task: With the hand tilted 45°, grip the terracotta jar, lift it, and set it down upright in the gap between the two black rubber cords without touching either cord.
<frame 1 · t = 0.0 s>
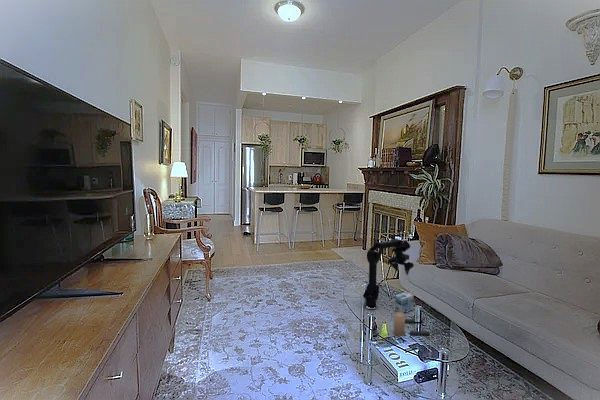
hand: (402, 272, 243), 15 cm above the table, tool pointing down, fingers open, 9 cm apart
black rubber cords: (416, 328, 198), on the table
light bulb box: (404, 310, 220), on the table
terracotta jar: (399, 333, 194), on the table
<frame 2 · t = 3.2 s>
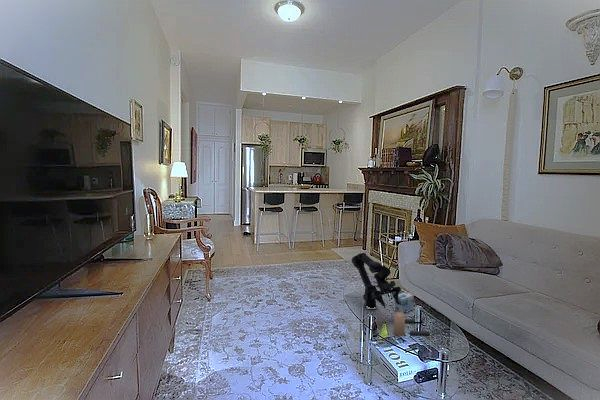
hand: (391, 305, 200), 14 cm above the table, tool tilted 45°, fingers open, 9 cm apart
nothing on the table moved.
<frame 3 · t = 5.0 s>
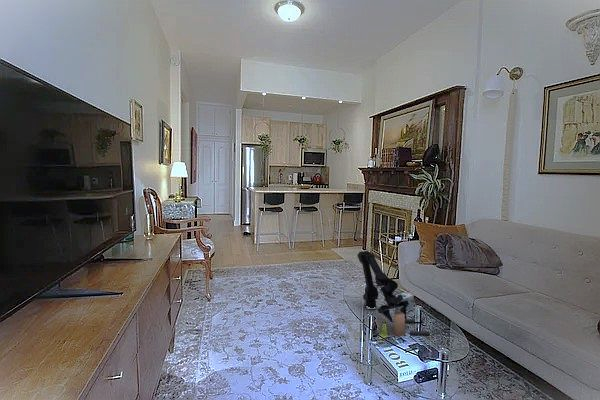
hand: (399, 320, 193), 8 cm above the table, tool tilted 45°, fingers open, 9 cm apart
nothing on the table moved.
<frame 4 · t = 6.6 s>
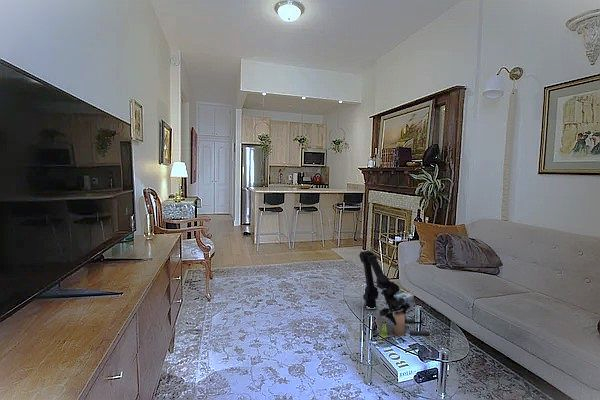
hand: (400, 324, 192), 7 cm above the table, tool tilted 45°, fingers closed on terracotta jar, 6 cm apart
terracotta jar: (399, 333, 194), on the table, touching gripper
everything else where it was.
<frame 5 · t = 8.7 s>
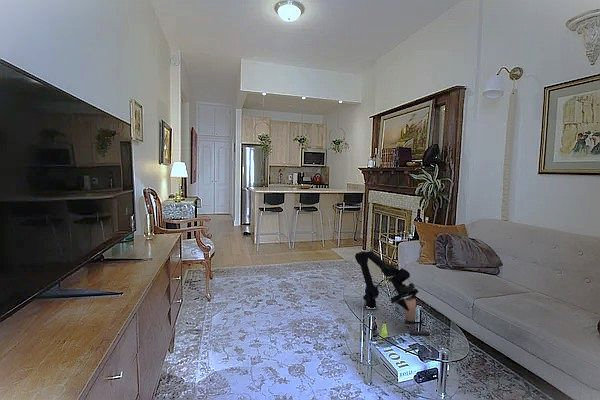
hand: (412, 309, 195), 13 cm above the table, tool tilted 45°, fingers closed on terracotta jar, 6 cm apart
terracotta jar: (410, 318, 197), point 7 cm above the table, touching gripper
everything else where it was.
when the fingers open (8 cm above the table, at t = 10.9 s): terracotta jar drops 1 cm, on the table.
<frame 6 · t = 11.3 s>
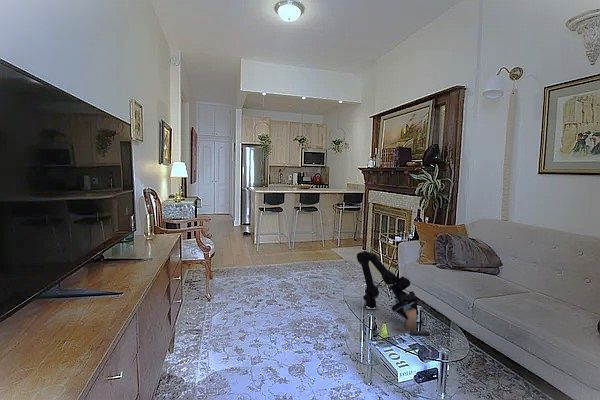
hand: (412, 317, 196), 8 cm above the table, tool tilted 45°, fingers open, 9 cm apart
terracotta jar: (410, 328, 199), on the table
everything else where it was.
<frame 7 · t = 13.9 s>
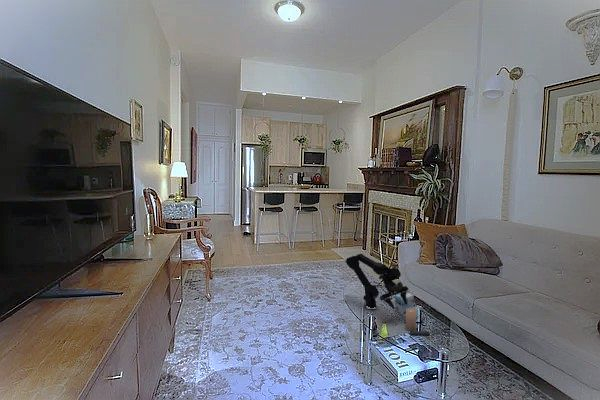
hand: (400, 306, 204), 11 cm above the table, tool tilted 40°, fingers open, 9 cm apart
nothing on the table moved.
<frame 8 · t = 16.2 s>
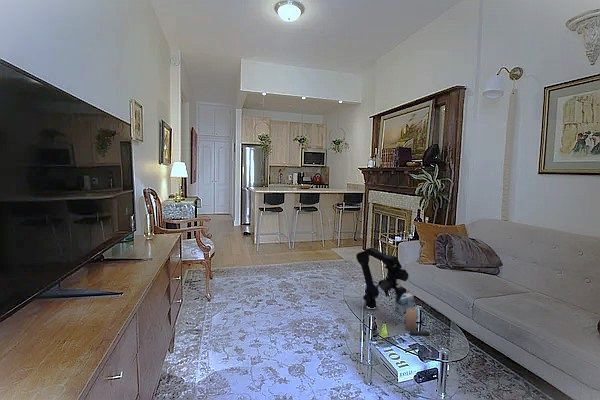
hand: (392, 299, 209), 13 cm above the table, tool pointing down, fingers open, 9 cm apart
nothing on the table moved.
at the end: terracotta jar 0.1 cm from the target spot, on the table; terracotta jar tilted 0°; terracotta jar touching table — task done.
